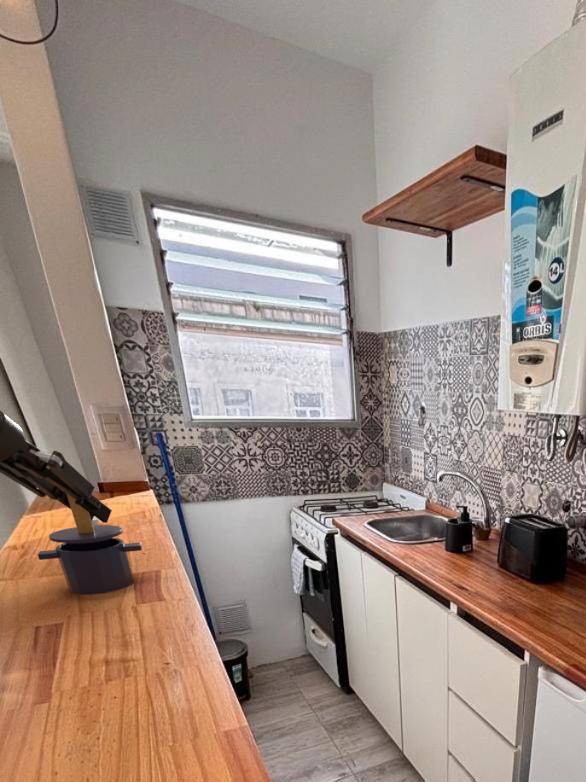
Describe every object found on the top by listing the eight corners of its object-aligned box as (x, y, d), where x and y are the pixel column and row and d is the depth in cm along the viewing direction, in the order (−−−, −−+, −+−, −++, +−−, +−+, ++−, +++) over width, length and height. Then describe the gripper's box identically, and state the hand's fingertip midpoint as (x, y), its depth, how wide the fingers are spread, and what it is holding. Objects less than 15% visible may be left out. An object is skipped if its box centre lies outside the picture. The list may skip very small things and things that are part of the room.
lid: (56, 534, 97) (40, 486, 93) (125, 528, 101) (113, 483, 98) (45, 549, 88) (27, 497, 84) (121, 542, 93) (108, 493, 89)
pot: (57, 584, 99) (42, 541, 96) (151, 574, 106) (140, 534, 103) (48, 602, 91) (31, 556, 88) (150, 590, 98) (138, 546, 95)
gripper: (-83, 443, 74) (55, 530, 96) (13, 448, 73) (131, 535, 95) (-60, 402, 77) (69, 496, 99) (34, 406, 75) (144, 501, 97)
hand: (99, 515), depth 97 cm, fingers closed on lid, 2 cm apart
